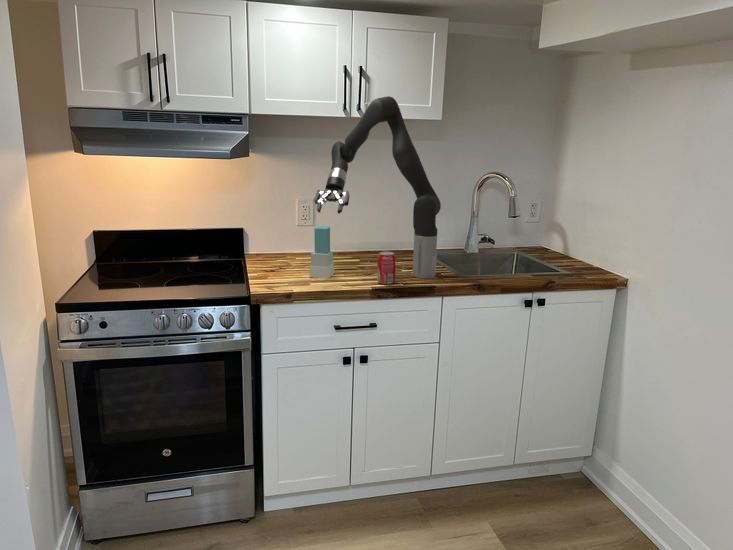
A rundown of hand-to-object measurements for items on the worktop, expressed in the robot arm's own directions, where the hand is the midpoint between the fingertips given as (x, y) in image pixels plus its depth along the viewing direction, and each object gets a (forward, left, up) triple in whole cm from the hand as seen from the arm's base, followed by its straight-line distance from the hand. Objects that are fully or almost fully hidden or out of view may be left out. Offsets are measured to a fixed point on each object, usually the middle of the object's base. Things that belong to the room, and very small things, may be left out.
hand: (328, 211), depth 225 cm
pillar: (0, +9, -15) cm, 17 cm away
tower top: (0, +9, -20) cm, 22 cm away
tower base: (0, +9, -25) cm, 27 cm away
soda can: (-27, +12, -25) cm, 39 cm away
